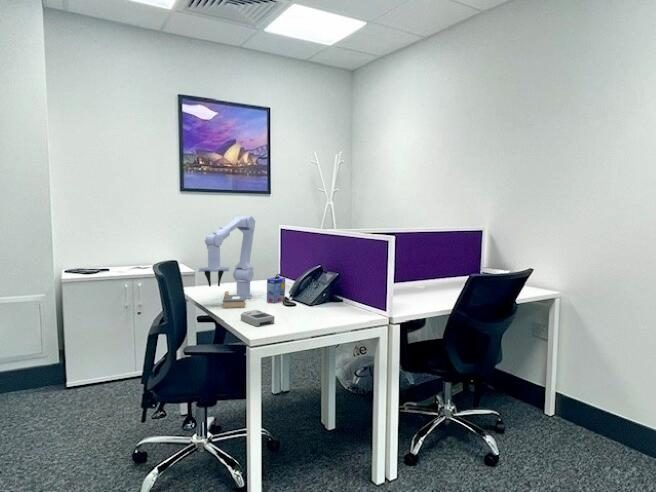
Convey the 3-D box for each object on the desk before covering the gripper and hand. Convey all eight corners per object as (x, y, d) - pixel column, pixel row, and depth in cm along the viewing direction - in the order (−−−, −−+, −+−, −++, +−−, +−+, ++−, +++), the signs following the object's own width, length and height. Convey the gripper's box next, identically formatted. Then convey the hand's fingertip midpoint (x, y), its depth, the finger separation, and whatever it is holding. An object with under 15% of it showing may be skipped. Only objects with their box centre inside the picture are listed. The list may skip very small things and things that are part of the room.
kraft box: (225, 302, 227) (224, 297, 226) (244, 302, 228) (244, 296, 228) (223, 308, 215) (223, 302, 215) (244, 307, 217) (244, 301, 216)
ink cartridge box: (275, 303, 226) (275, 275, 225) (266, 302, 229) (266, 274, 228) (285, 300, 235) (285, 272, 234) (277, 298, 238) (277, 272, 236)
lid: (224, 296, 227) (224, 290, 226) (245, 295, 228) (245, 289, 228) (222, 301, 214) (222, 295, 214) (244, 301, 216) (244, 294, 216)
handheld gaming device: (257, 317, 200) (256, 309, 200) (274, 324, 189) (274, 315, 189) (239, 320, 195) (239, 312, 194) (256, 328, 183) (256, 319, 183)
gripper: (197, 260, 213) (198, 287, 214) (228, 259, 215) (229, 287, 216) (199, 258, 220) (199, 285, 221) (229, 257, 222) (229, 284, 223)
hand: (214, 286), depth 219 cm, fingers open, 4 cm apart
